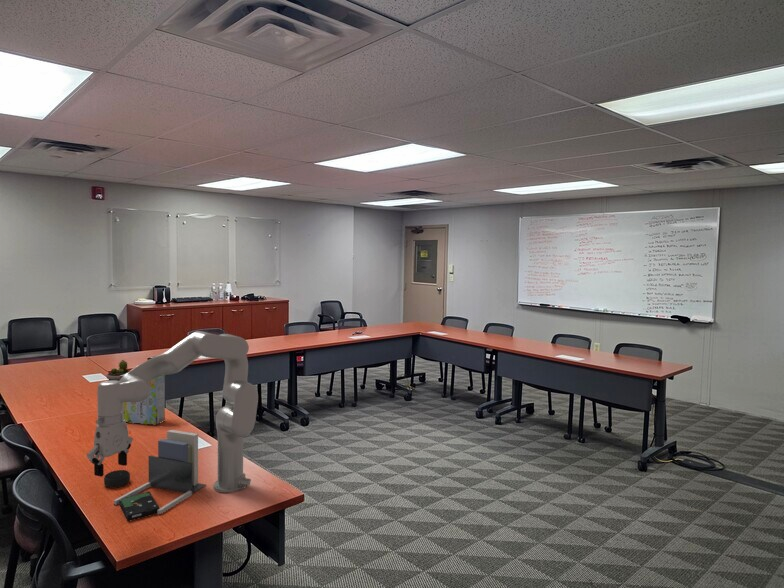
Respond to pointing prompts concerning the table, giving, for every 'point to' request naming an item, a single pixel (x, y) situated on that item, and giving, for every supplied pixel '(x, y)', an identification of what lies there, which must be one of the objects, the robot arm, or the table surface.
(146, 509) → the disk drive
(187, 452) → the book row
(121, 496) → the rails
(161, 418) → the snack box
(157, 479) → the bookend
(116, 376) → the flowerpot
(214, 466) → the table surface
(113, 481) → the smart speaker
